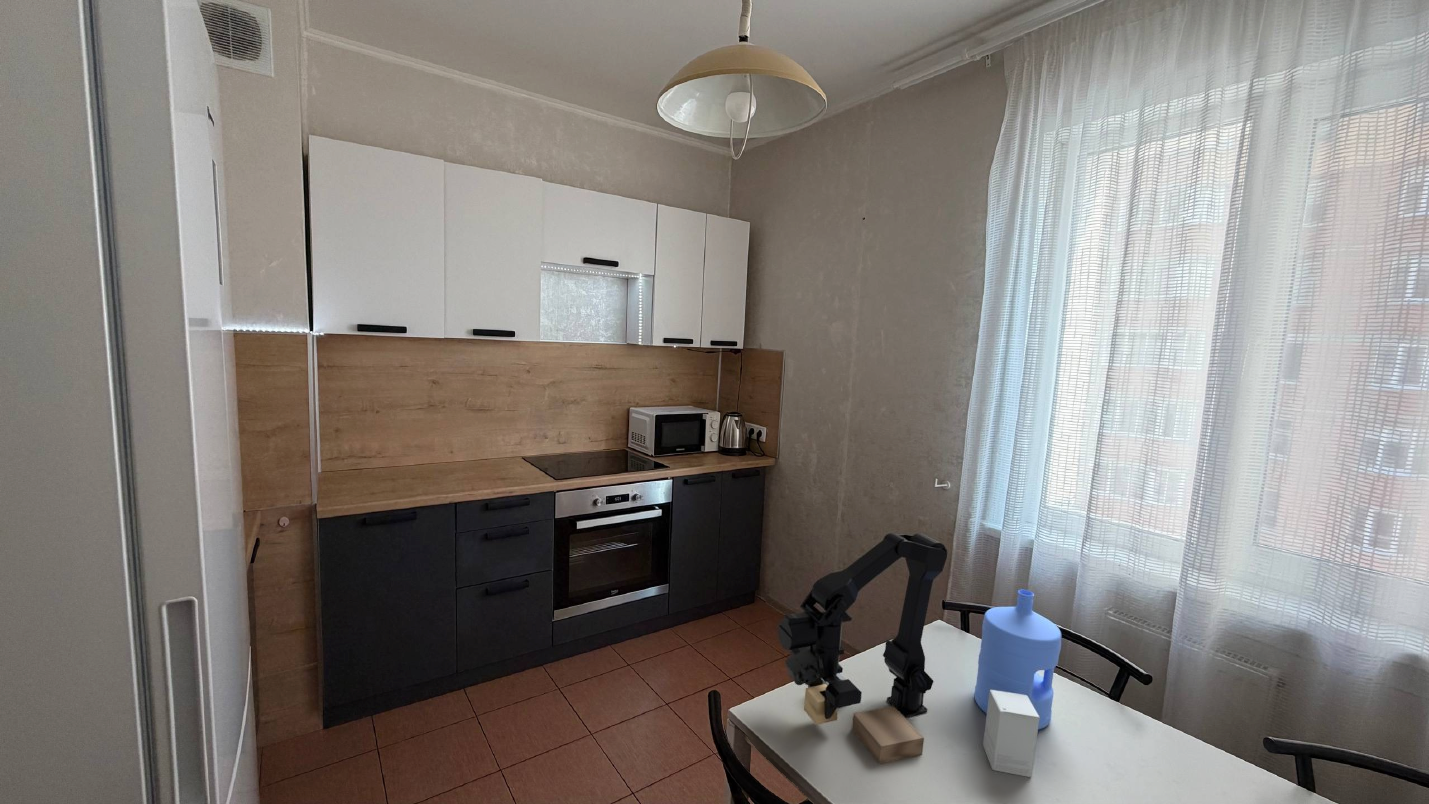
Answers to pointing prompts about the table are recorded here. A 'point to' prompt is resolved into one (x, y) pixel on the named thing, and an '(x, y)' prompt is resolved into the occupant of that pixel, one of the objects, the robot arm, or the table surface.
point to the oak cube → (817, 705)
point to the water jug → (1018, 655)
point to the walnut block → (887, 734)
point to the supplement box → (1011, 733)
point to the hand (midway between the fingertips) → (820, 710)
